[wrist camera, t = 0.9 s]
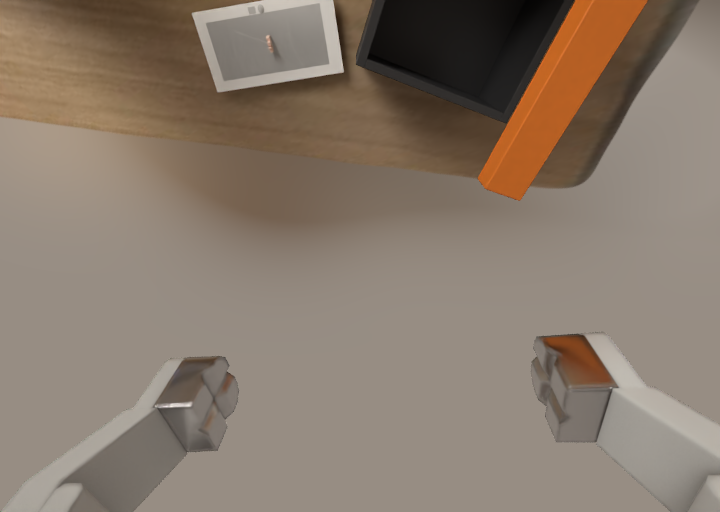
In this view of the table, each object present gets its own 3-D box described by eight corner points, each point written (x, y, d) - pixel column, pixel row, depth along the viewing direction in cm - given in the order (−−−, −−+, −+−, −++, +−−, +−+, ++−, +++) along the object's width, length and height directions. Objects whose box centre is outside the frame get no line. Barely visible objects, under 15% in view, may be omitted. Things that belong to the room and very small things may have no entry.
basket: (355, 56, 42) (355, 64, 33) (398, -84, 35) (410, -116, 27) (478, 104, 45) (506, 123, 36) (538, -16, 38) (588, -26, 30)
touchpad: (344, 71, 43) (343, 73, 41) (220, 90, 44) (214, 94, 42) (331, -12, 38) (330, -13, 36) (195, 13, 39) (187, 12, 37)
